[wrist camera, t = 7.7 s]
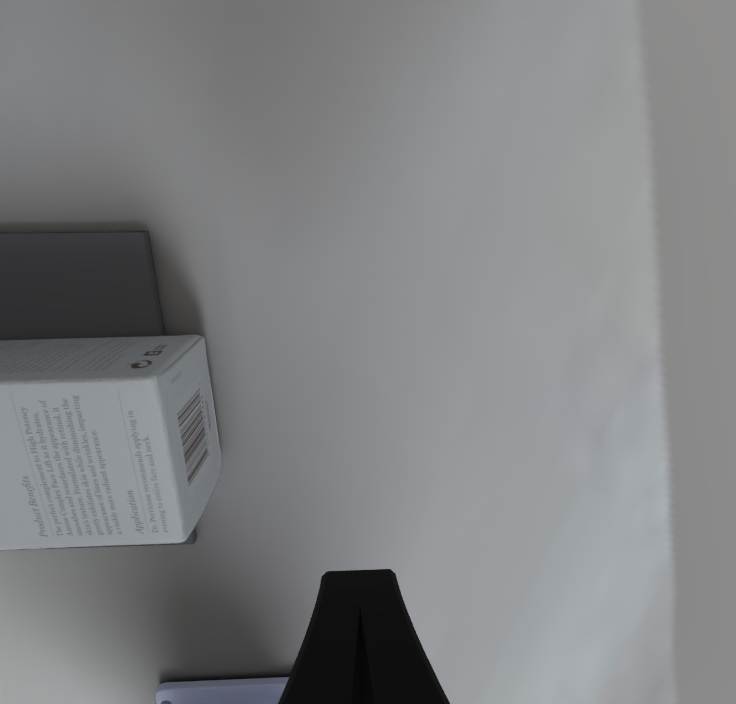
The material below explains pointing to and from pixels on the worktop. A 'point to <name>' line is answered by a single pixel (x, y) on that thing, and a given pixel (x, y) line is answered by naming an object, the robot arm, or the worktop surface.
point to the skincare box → (105, 441)
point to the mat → (79, 290)
